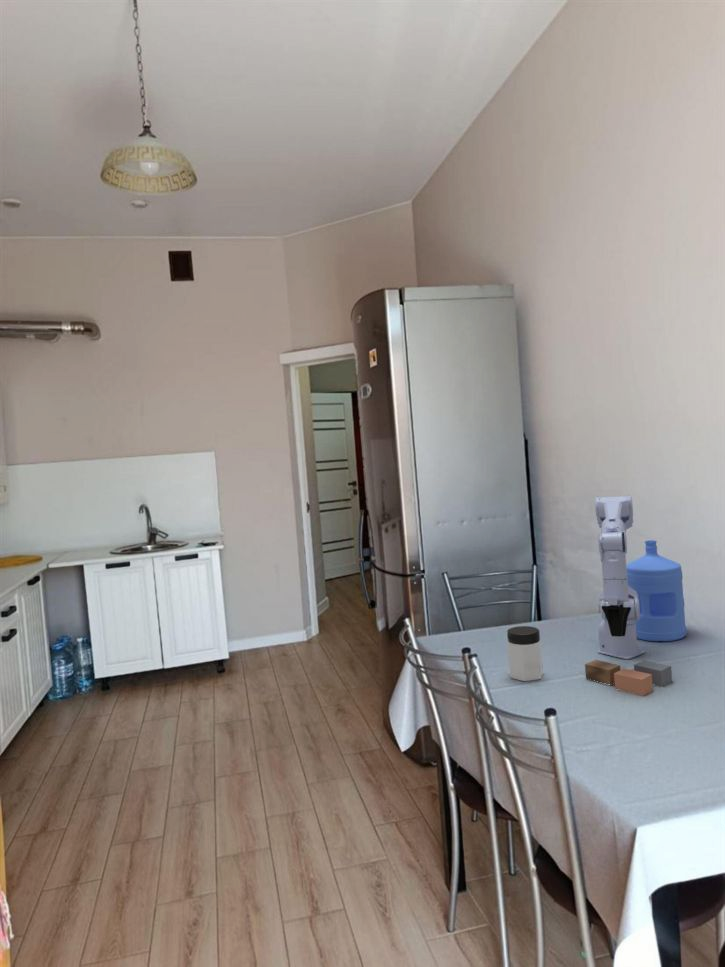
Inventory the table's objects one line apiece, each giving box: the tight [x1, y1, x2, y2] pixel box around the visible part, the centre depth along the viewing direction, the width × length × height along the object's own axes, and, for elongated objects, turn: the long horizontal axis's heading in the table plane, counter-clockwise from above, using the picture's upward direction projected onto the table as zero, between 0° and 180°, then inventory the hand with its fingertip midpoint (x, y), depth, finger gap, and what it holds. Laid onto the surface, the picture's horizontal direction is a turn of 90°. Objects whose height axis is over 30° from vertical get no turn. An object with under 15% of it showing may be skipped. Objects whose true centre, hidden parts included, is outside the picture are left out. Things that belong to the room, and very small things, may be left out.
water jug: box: [626, 539, 687, 642], centre depth 195 cm, size 16×16×28 cm
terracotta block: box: [614, 668, 654, 697], centre depth 156 cm, size 7×4×4 cm, turn 39°
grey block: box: [633, 659, 673, 687], centre depth 160 cm, size 7×4×4 cm, turn 36°
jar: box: [506, 625, 544, 682], centre depth 171 cm, size 9×8×12 cm
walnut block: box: [584, 659, 622, 686], centre depth 164 cm, size 7×4×4 cm, turn 34°
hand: (618, 636), depth 161 cm, fingers open, 7 cm apart
